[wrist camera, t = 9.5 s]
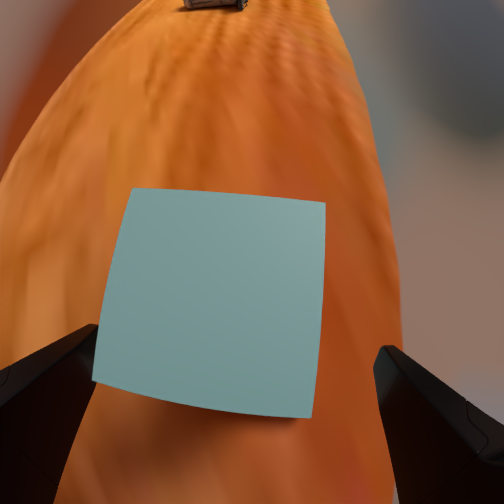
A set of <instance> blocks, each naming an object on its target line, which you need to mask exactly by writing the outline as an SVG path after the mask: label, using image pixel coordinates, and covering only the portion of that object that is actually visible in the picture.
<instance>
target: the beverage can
mask: <svg viewBox="0 0 504 504" xmlns="http://www.w3.org/2000/svg"><path fill="white" fill-rule="evenodd" d="M183 1H184V5H185V7H186V8H190V9H194V8H202V7H211V6H221V5H234V4H238V7H239V9H240V10H239V11H242V10H243V9H244V6H243V4H245V3H246V2H248V0H245V1H244V0H183ZM246 6H247V3H246Z"/></svg>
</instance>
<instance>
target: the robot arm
mask: <svg viewBox="0 0 504 504" xmlns="http://www.w3.org/2000/svg"><path fill="white" fill-rule="evenodd" d="M98 328H99V325H96V324H88V325H86V326H84V327H82V328H80V329H78V330H76V331H74V332H72V333H71V334H69V335H67V336H65V337H63V338H61V339H59V340H57V341H55V342H53V343H51V344H49V345H48V346H46V347H44V348H42V349H40V350H38V351H36V352H34V353H32V354H30V355H28V356H27V357H25V358H23V359H21V360H19V361H17V362H15V363H13V364H12V365H11V366H10V365H9V366H8V367H6V368H4V369H2V370H0V504H53V503H54V499H55V496H56V493H57V489H58V486H59V482H60V479H61V476H62V473H63V470H64V467H65V464H66V461H67V458H68V455H69V453H70V450H71V447H72V444H73V442H74V439H75V436H76V434H77V431H78V428H79V426H80V423H81V421H82V418H83V416H84V413H85V411H86V408H87V406H88V403H89V401H90V399H91V396H92V394H93V391H94V389H95V386H96V383H97V382H96V381H93V380H92V375H93V365H94V357H95V349H96V342H97V335H98ZM373 372H374V379H375V385H376V392H377V399H378V406H379V411H380V415H381V419H382V423H383V427H384V431H385V436H386V440H387V444H388V449H389V453H390V458H391V462H392V467H393V472H394V477H395V482H396V488H397V493H398V499H399V504H504V425H503V424H501V423H499V422H498V421H496V420H495V419H493V418H492V417H490V416H489V415H487V414H485V413H484V412H483V411H481V410H480V409H479V408H477V407H476V406H474V405H473V404H472V403H470V402H469V401H466V399H465V398H464V397H462V396H461V395H460V394H458V393H457V392H456V391H454V390H453V389H452V388H450V387H449V386H448V385H446V384H445V383H444V382H442V381H441V380H440V379H438V378H437V377H436V376H434V375H433V374H432V373H430V372H429V371H428V370H426V369H425V368H424V367H422V366H421V365H420V364H418V363H417V362H416V361H414V360H413V359H412V358H410V357H409V356H407V355H406V354H405V353H403V352H402V351H401V350H399V349H398V348H397V347H395V346H394V345H384V346H382V347H381V348H380V350H379V352H378V355H377V357H376V360H375V362H374V366H373Z"/></svg>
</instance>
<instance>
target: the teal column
mask: <svg viewBox="0 0 504 504" xmlns="http://www.w3.org/2000/svg"><path fill="white" fill-rule="evenodd" d="M324 257H325V203H322V202H314V201H305V200H296V199H287V198H277V197H267V196H256V195H245V194H233V193H220V192H206V191H190V190H172V189H149V188H132V191H131V194H130V197H129V200H128V204H127V207H126V210H125V214H124V217H123V220H122V224H121V227H120V231H119V235H118V238H117V242H116V246H115V250H114V254H113V258H112V262H111V267H110V271H109V276H108V280H107V285H106V290H105V295H104V300H103V305H102V311H101V316H100V322H99V328H98V335H97V342H96V349H95V357H94V365H93V375H92V380H93V381H96V382H99V383H102V384H105V385H108V386H112V387H115V388H118V389H122V390H125V391H129V392H133V393H137V394H140V395H144V396H148V397H153V398H157V399H161V400H166V401H170V402H175V403H180V404H185V405H190V406H196V407H202V408H208V409H214V410H221V411H228V412H235V413H244V414H253V415H263V416H276V417H292V418H311V415H312V408H313V400H314V391H315V383H316V374H317V364H318V353H319V342H320V330H321V316H322V301H323V282H324Z"/></svg>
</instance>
